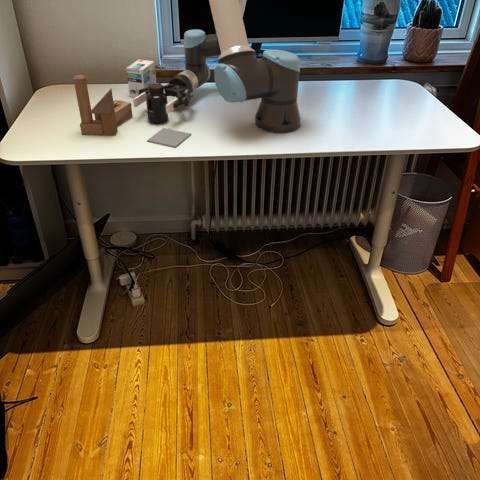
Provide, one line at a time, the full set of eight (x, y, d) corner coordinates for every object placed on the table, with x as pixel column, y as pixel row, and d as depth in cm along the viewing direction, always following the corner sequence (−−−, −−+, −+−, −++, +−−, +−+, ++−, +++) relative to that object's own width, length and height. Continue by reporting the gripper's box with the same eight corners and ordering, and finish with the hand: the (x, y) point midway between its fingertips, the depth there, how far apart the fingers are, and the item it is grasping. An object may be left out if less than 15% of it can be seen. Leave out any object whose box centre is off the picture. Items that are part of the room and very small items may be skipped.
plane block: (132, 116, 170) (129, 93, 165) (111, 130, 161) (108, 106, 156) (117, 113, 171) (114, 91, 167) (96, 127, 163) (92, 103, 158)
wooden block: (115, 136, 158) (106, 79, 147) (81, 134, 158) (70, 78, 147) (118, 131, 161) (110, 75, 150) (84, 129, 161) (74, 74, 150)
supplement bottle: (145, 124, 165) (141, 88, 158) (151, 116, 170) (147, 81, 163) (166, 125, 164) (163, 90, 157) (170, 117, 170) (168, 82, 163)
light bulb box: (145, 99, 182) (142, 69, 176) (128, 97, 184) (125, 67, 177) (157, 89, 191) (155, 60, 184) (141, 87, 192) (138, 58, 185)
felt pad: (191, 134, 159) (191, 133, 159) (175, 148, 152) (175, 146, 151) (163, 129, 162) (163, 127, 162) (147, 141, 155) (147, 140, 155)
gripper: (213, 100, 175) (183, 123, 159) (155, 89, 183) (120, 110, 167) (213, 79, 171) (182, 101, 155) (153, 68, 178) (117, 88, 162)
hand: (150, 106), depth 161 cm, fingers open, 11 cm apart
